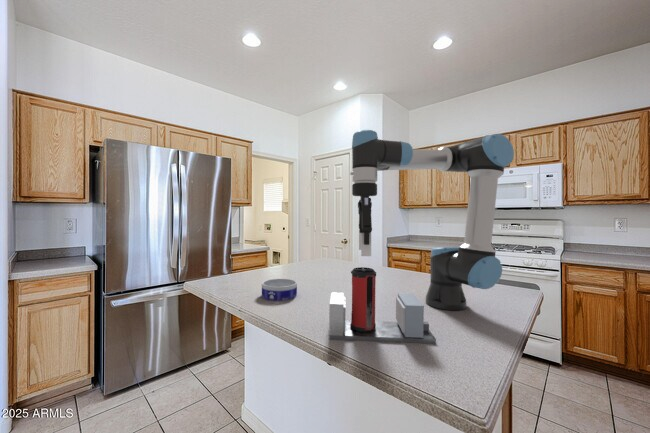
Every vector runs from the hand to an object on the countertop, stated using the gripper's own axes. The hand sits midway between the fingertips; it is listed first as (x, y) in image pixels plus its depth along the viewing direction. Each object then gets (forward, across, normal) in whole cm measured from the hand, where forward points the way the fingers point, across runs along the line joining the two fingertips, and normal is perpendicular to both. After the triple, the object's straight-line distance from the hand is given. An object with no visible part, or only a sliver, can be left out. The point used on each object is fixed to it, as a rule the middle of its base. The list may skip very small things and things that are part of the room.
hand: (364, 252), depth 87 cm
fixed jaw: (+23, 0, -8) cm, 24 cm away
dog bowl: (+24, -35, -34) cm, 55 cm away
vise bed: (+24, 0, +4) cm, 25 cm away
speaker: (+23, 0, 0) cm, 23 cm away
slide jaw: (+23, 0, +15) cm, 27 cm away
